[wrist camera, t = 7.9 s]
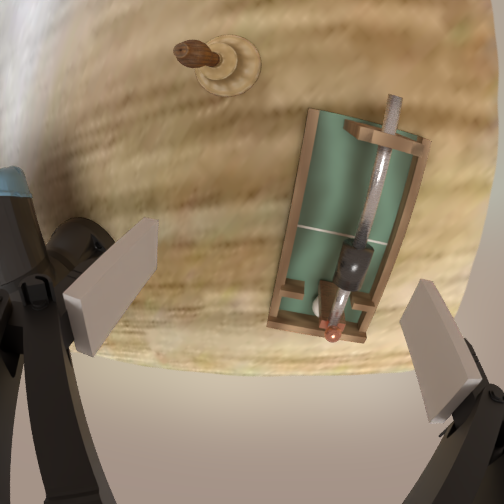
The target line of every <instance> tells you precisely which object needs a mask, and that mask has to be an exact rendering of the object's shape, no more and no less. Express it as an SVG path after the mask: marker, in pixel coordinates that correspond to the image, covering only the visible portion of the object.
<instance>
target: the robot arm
mask: <svg viewBox="0 0 504 504" xmlns="http://www.w3.org/2000/svg"><path fill="white" fill-rule="evenodd" d="M158 221H159V220H156V219H151V218H147V217H144V218H143V219H141V220H140V221H139V222H138V223H137V224H136V225H135V226H133V227H132V228H131V229H130V230H129V231H128V232H127V233H126V234H124V235H123V236H122V237H121V238H120V239H119V240H118V241H117V242H116V243H114V241H113V240H112V238H111V237H110V236H109V234H108V233H107V232H106V231H105V230H104V229H103V228H101V227H100V226H99V225H97V224H96V223H94V222H92V221H90V220H88V219H84V218H72V219H69V220H67V221H66V222H64V223H63V224H61V225H60V226H59V227H58V228H57V229H56V230H55V231H54V233H53V234H52V236H51V239H50V240H49V242H48V243H47V245H46V246H45V243H44V240H43V237H42V234H41V231H40V228H39V224H38V220H37V217H36V213H35V209H34V205H33V202H32V194H31V193H30V191H29V188H28V185H27V181H26V177H25V174H24V172H23V171H22V169H20V168H19V167H17V166H10V167H5V168H0V504H10V463H11V447H12V435H13V425H14V417H15V409H16V403H17V396H18V390H19V384H20V379H21V374H22V369H23V364H24V370H25V383H26V392H27V401H28V410H29V417H30V423H31V430H32V435H33V441H34V446H35V451H36V455H37V460H38V464H39V468H40V473H41V476H42V480H43V484H44V487H45V491H46V499H45V501H44V504H116V501H115V499H114V496H113V494H112V492H111V489H110V487H109V485H108V482H107V480H106V477H105V474H104V472H103V469H102V466H101V464H100V461H99V458H98V456H97V453H96V450H95V447H94V444H93V441H92V437H91V434H90V431H89V428H88V424H87V421H86V417H85V414H84V410H83V407H82V403H81V399H80V395H79V391H78V387H77V382H76V378H75V374H74V369H73V364H72V359H71V353H70V350H69V346H70V345H71V343H72V342H73V341H74V342H75V346H76V350H77V351H79V352H81V353H83V354H86V355H88V356H91V357H94V356H95V354H96V353H97V351H98V350H99V348H100V347H101V345H102V344H103V342H104V341H105V339H106V338H107V337H108V335H109V334H110V332H111V331H112V329H113V328H114V327H115V325H116V324H117V322H118V321H119V320H120V318H121V317H122V315H123V314H124V313H125V311H126V310H127V308H128V307H129V306H130V304H131V303H132V301H133V300H134V299H135V297H136V296H137V295H138V293H139V292H140V291H141V289H142V288H143V287H144V285H145V284H146V282H147V281H148V280H149V278H150V277H151V276H152V274H153V273H154V272H155V271H156V269H157V246H158ZM400 324H401V327H402V330H403V333H404V336H405V339H406V342H407V345H408V349H409V352H410V355H411V358H412V362H413V365H414V368H415V372H416V375H417V379H418V382H419V386H420V389H421V393H422V397H423V400H424V404H425V408H426V412H427V416H428V421H429V423H443V422H445V421H446V420H447V419H448V418H449V417H450V415H451V414H452V416H453V420H454V421H453V422H452V423H451V424H450V425H449V426H448V427H447V428H446V429H445V430H444V431H443V432H442V433H441V434H440V435H439V437H441V436H442V435H444V437H443V438H442V440H441V442H440V444H439V446H438V447H437V449H436V451H435V453H434V455H433V456H432V458H431V460H430V462H429V463H428V465H427V467H426V468H425V470H424V471H423V473H422V475H421V476H420V478H419V480H418V481H417V482H416V484H415V485H414V487H413V489H412V490H411V491H410V493H409V494H408V496H407V497H406V499H405V500H404V502H403V503H402V504H504V393H503V391H502V390H501V389H500V388H499V387H498V386H496V385H494V384H489V382H488V380H487V377H486V375H485V373H484V371H483V368H482V366H481V364H480V362H479V360H478V358H477V356H476V354H475V352H474V349H473V347H472V345H471V344H470V343H469V342H468V341H467V340H466V339H465V338H463V336H462V334H461V332H460V330H459V328H458V326H457V324H456V323H455V321H454V319H453V317H452V315H451V313H450V311H449V309H448V308H447V306H446V304H445V302H444V300H443V298H442V297H441V295H440V293H439V291H438V290H437V288H436V286H435V284H434V283H433V281H429V280H425V279H420V281H419V283H418V285H417V287H416V289H415V291H414V293H413V296H412V298H411V300H410V302H409V304H408V305H407V307H406V309H405V311H404V313H403V315H402V317H401V319H400Z"/></svg>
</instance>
